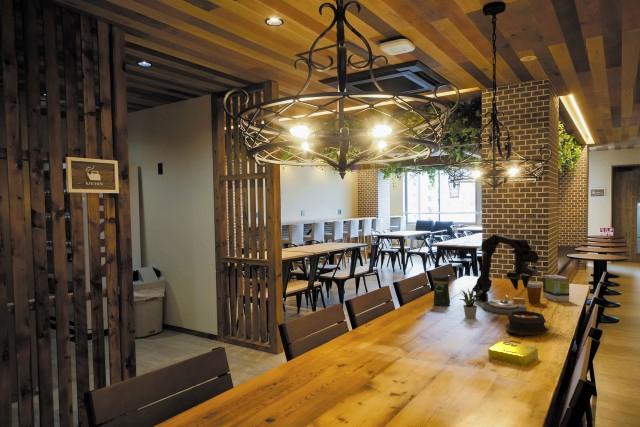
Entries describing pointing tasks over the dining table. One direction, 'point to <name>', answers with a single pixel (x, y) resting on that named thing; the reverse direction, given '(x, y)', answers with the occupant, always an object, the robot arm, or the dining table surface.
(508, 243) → the robot arm
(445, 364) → the dining table surface
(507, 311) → the base plate
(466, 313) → the house plant
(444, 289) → the coffee jar
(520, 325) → the casserole
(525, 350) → the element tile
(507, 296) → the dowel
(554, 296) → the tea box
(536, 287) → the disposable coffee cup
